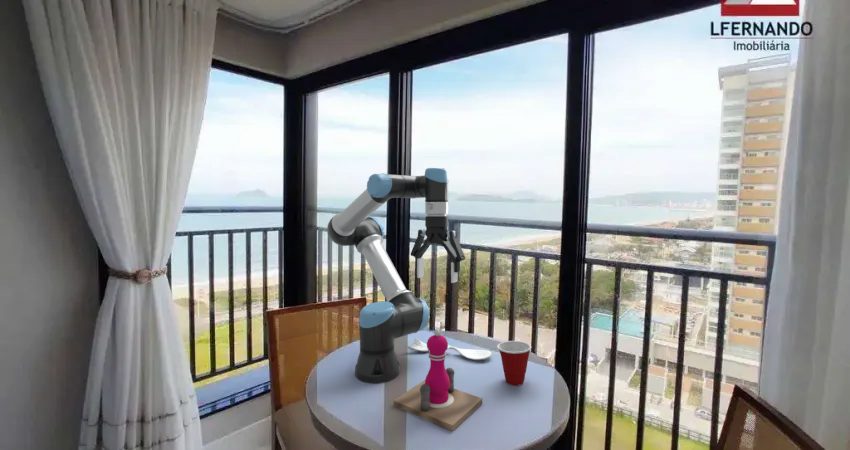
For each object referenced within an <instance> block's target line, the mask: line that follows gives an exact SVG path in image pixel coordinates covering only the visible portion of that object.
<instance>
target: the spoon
mask: <svg viewBox="0 0 850 450" xmlns="http://www.w3.org/2000/svg"><path fill="white" fill-rule="evenodd" d="M406 348H407V349H409V350H413V351H418V352H430V351H429V350H428V348H427V343H425V342H423V341H421V340H420V339H418V338H414V340H413V342H412V344H411V345H407V346H406ZM447 350H454V351H455V352H457V353H459V354H460V355H461V356H463V357H464V358H467V359H469V360H474V361H480V360H481V361H482V360H486V359H490V357H492V352H491V351H490V350H486V349H475V348H474V349H473V348H460V347H456V346H452V345H450V344H448V348H447Z"/></svg>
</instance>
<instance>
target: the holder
mask: <svg viewBox="0 0 850 450" xmlns="http://www.w3.org/2000/svg"><path fill="white" fill-rule="evenodd" d="M445 369H446V372H447V374H448V376H449V380H450V388H449V389H448V401H447V402H445V403H443V404H433V403H430V396H429V392H430V387H429V385H427V384H425V380H426V379H424V380H422V381H421V382H419V383H418V384H417V385H415V386H414V387H412V388H410V389H409V390H408V391H407V390H406V391H405V392H404V393H402V394H401V395H400V396H398V397H397V398H395V399H393V402H392V403H393V406H394V407H396V408H398V409H400V410H403V411H405V412H408V413H409V414H412V415H414V416H416V417H419V418H421V419H424V420H426V421H428V422H431V423H433V424H435V425H438V426H440V427H442V428H444V429H447V430H449V431H451V432H453V431H455V430H456V429H457V428H458V427H459V426H460V425H461V424H462V423H463V422H464V421H466V419H467V418H468V417H470V416H471V415H472V414H473V413H474V412H475V411H476V410H477V409H478V408H479V407H480V406H482V404H483V398H482V397H479V396H478V395H477V396H476V395H474V394H471V393H468V392H466V391H463V390H460V389H457V388H454V387H455V382H454V381H455V379H454V378H455V370H454V369H453V368H451V367H447V368H445Z"/></svg>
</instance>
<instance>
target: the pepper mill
mask: <svg viewBox="0 0 850 450" xmlns="http://www.w3.org/2000/svg"><path fill="white" fill-rule="evenodd" d="M426 344H427V348H428V350H429V351H428V359H429V360H430V365H429V366H430V367H429V369H428V372H427V374H426V377H425V379H424V380H425V384H427V385H429V387H430V392H429V396H430V403H433V404H443V403H445V402H447V401H448V389H449V388H450V380H449V376H448V374H447V372H446V369H447V368H446V365H445V360H446V358H447V352H446V351H447V350H448V349H447V348H448V345H449V344H448V340H447V338H446V337H445V336H444V335H441V331H440V330H439V329H437V330H436V329H435V330H434V333H433V335H431V336H430V337H428V339H427V342H426Z"/></svg>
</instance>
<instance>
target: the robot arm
mask: <svg viewBox="0 0 850 450" xmlns="http://www.w3.org/2000/svg"><path fill="white" fill-rule="evenodd" d="M448 173H449V172H448V169H447V168H444V167H427V168H426V169H425V171H424V175H406V174H405V175H404V174H403V175H402V174H389V173H382V172H381V173H373V174H371V175H370V176H369V177H368V180H367V181H366V189H365V190H363V192H362V193H360V195H358V197H357V198H356V199H354V200H353V201H352V202H351V203H350V204H349V205H348V206H347V207H346V208H345V209H344V210H342V212H339V213H336V214H335V215H333V216H332V218H331V219H330V220H329V222H328V223H327V227H326V231H327V235H328V238H329V239H330V240H331V242H333V243H335V244H336V245H338V246H341V247H346V246H347V247H348V246H349V247H350V246H355V248H356V249H355V250H356V251H357V252H358V253H360V254H363V256H364V259H365V260H366V262H367V265H368V267H369V268H370V270H371V272H372V274H373V276H374V278H375V280H376V283H377V284H378V286H379V288H380V290H381V292H382V294H383V296H384V298H385V301H384V300H382V301H376V302H371V303H369V304H366V305H365V306H363V307H362V308H361V310H360V312H359V317H358V319H359V320H358V325H359V354H358V357H357V362H356V365H355V366H354V367H355V368H354V376H355V378H356V379H357V380H358V381H360V382H364V383H369V384H380V383H381V384H382V383H385V382H389V381H392V380H393V379H396V378H397V377H398V376H399V375H400V371H401V370H400V368H401V367H400V362H399V361H398V357H397V354H396V351H395V339H398V338H402V337H405V336H408V335H411V334H417V333H418V332H420V331H422V330H425V328H427V325H428V324H429V320H430V310H429V307H428V304H427V302H426V301H425V300H424V299H423V298H420V297H416V295H415V294H414V293H413V291H412V290H408V289H407V288H406V286H405V284H404V282H403V280H402V278H401V277H400V275H399V273H398V271H397V269H396V267H395V266H394V263H393V262H392V259H391V258H390V256H389V254H388V252H387V250H386V249H385V247H384V245H383V242H384V236H385V231H384V229H385V228H384V226H383V223H382V222H381V220H380V219H378V218H376V217H375V216H371V215H372V214H374V213H375V212H376V211H377V210H378V209H379V208H381V207H382V206H383V205H384V204H385V203H386V202H387V201H389V200H390V199H392V198H393V199H394V198H396V199H397V198H398V199H400V198H401V199H402V198H403V199H424V198H425V200H424V203H425V204H424V205H425V206H424V207H425V208H424V209H425V212H424V213H425V215H426V216H425V218H424V220H425V221H424V222H425V224H424V225H425V228H424V229H421V228H420V229H418V230H417V237H416V239H415V243H414V245H413V247H412V250H411V252H410V256H411V257H414V258H415V268H417V269H416V270H417V271H416V272H417V273H416V277H417V278H418V279H422V278H424V276H425V275H424V274H425V273H424V272H425V266H424V265H425V262H424V261H425V259H424V257H423V255H424V254H425V253H426V252H427V250H428V249H429V247H430V246H431V245H434V244H436V245H441V246H442V247H443V248H444V250H446V253H447V254H448V256H449V257H450V258H451V260H452V262H450V278H451V279H450V283H451V284H454V283H457V282H458V280H459V279H458V276H459V274H458V273H460V269H461V268H460V267H461V264H460V263H461V262H462V261H465V260H466V256H465V254H464V250H463V249H462V246H461V244H460V242H459V239H458V235H457V230H450V231H449V229H448V227H449V217H448V215H449V174H448ZM425 229H426V230H425ZM425 236H426V238H425ZM448 238H449V239H448ZM424 239H425V240H424Z"/></svg>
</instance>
